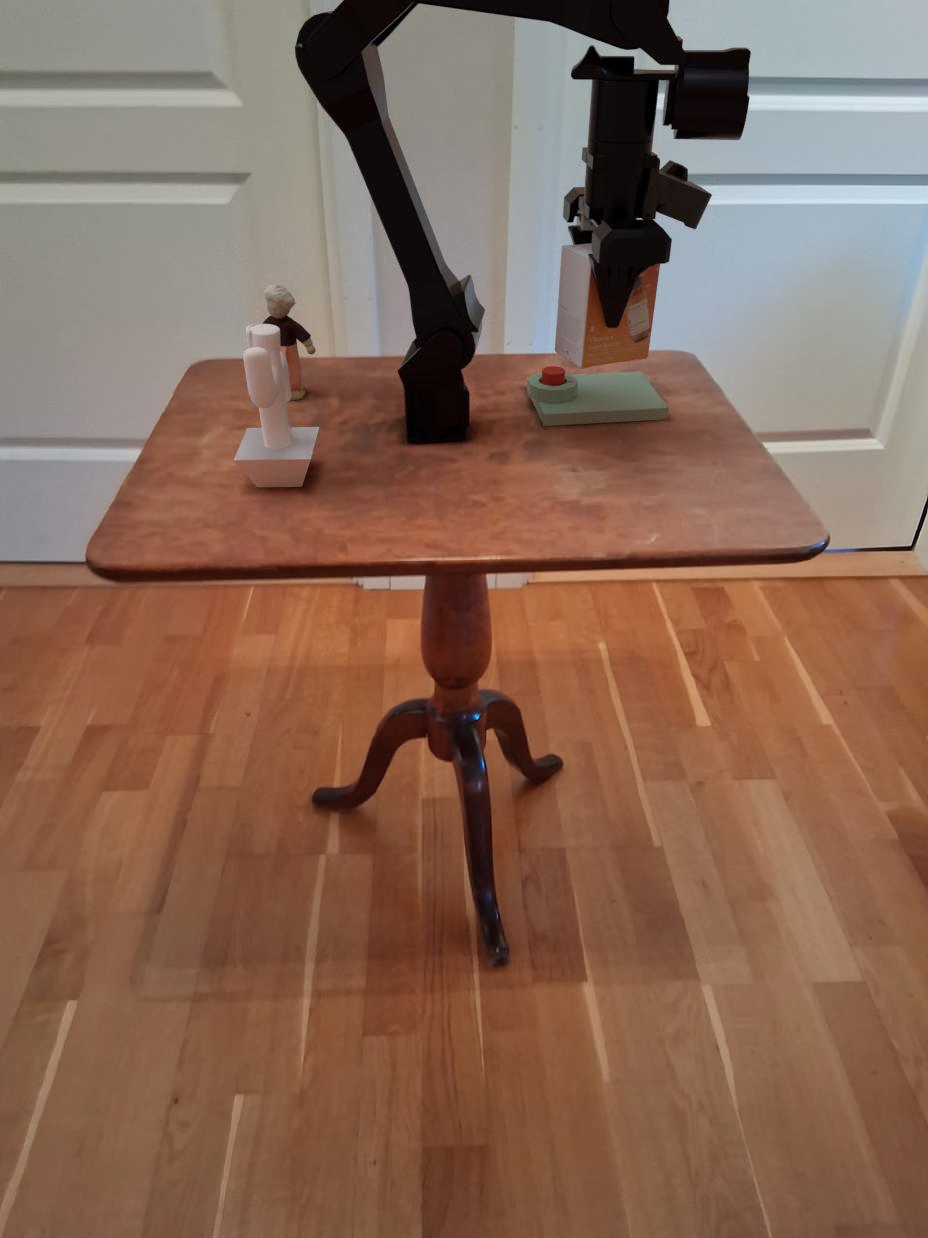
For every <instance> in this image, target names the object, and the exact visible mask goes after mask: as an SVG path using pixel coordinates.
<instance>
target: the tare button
mask: <svg viewBox="0 0 928 1238" xmlns="http://www.w3.org/2000/svg"><path fill="white" fill-rule="evenodd" d="M541 372H542V380H541V383H542V384H544V385H549V386H560V385H563V384H564V381H565V373H566V369H565V368H564V367H560V366H556V365H550V366H544V367H543V368H542V369H541Z"/></svg>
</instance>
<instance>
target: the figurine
mask: <svg viewBox="0 0 928 1238" xmlns="http://www.w3.org/2000/svg"><path fill="white" fill-rule="evenodd" d="M245 334H246V342H247V348H246V349H245V350H244V352H243V356H242V361H243V365H244V367H243V368H244V373H245V380H246V386H247V391H248V396H249V398H250V400H251V403H252V404H253V405H254V406H255V407H257V408H258V412H259V413H258V414H259V418H260V426H261V427H246V430H245V432H244V435H243V436H242V439H241V442H240V444H239V447H238V449H237V452H236V454H235V456H234V458H233V461H234V462H235V464H236V465H237V466H238V467H239V468H240V470H242V471H243V473H244V474H245V475H246V477H248V478H249V480H250V481H251V482H252V483H253V484H254V486H255V487H256V488H302V487H303V485H304V481H305V478H306V475H307V472H308V469H309V466H310V463H311V459H312V456H313V453H314V449H315V444H316V441H317V437H318V434H319V430H320V426H291V425H290V419H289V411H288V410H289V409H288V404H287V403H288V402H290V401H292V400H291V387H290V378H289V369H288V364H287V360H286V358H285V356H284V354H283V353H282V352H281V351H280V328H279V327H277V326H275V325H271V324H262V323H260V324H255V323H250V324H248V325H247V326H246V327H245Z"/></svg>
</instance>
